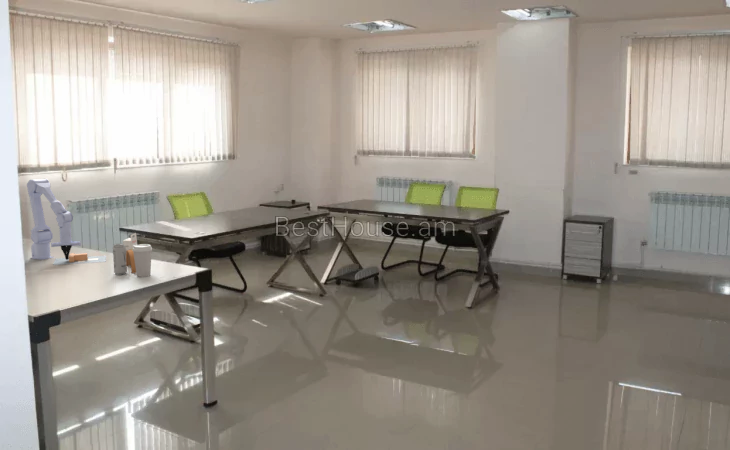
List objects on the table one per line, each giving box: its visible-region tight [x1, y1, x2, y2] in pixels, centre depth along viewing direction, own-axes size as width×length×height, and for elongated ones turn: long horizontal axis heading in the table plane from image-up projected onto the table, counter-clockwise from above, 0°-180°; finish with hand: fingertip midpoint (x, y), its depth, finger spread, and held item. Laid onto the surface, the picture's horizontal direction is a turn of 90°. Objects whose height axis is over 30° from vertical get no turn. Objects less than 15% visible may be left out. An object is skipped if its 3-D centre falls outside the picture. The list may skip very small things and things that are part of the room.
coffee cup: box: [132, 243, 153, 278], centre depth 326 cm, size 10×10×15 cm
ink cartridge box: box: [122, 232, 138, 251], centre depth 362 cm, size 9×5×15 cm, turn 179°
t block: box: [69, 252, 89, 262], centre depth 360 cm, size 9×10×3 cm
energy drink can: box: [112, 242, 128, 276], centre depth 329 cm, size 6×6×15 cm
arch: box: [126, 250, 136, 274], centre depth 341 cm, size 6×20×10 cm, turn 27°
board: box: [52, 255, 107, 266], centre depth 360 cm, size 26×18×1 cm
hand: (67, 259), depth 358 cm, fingers closed
